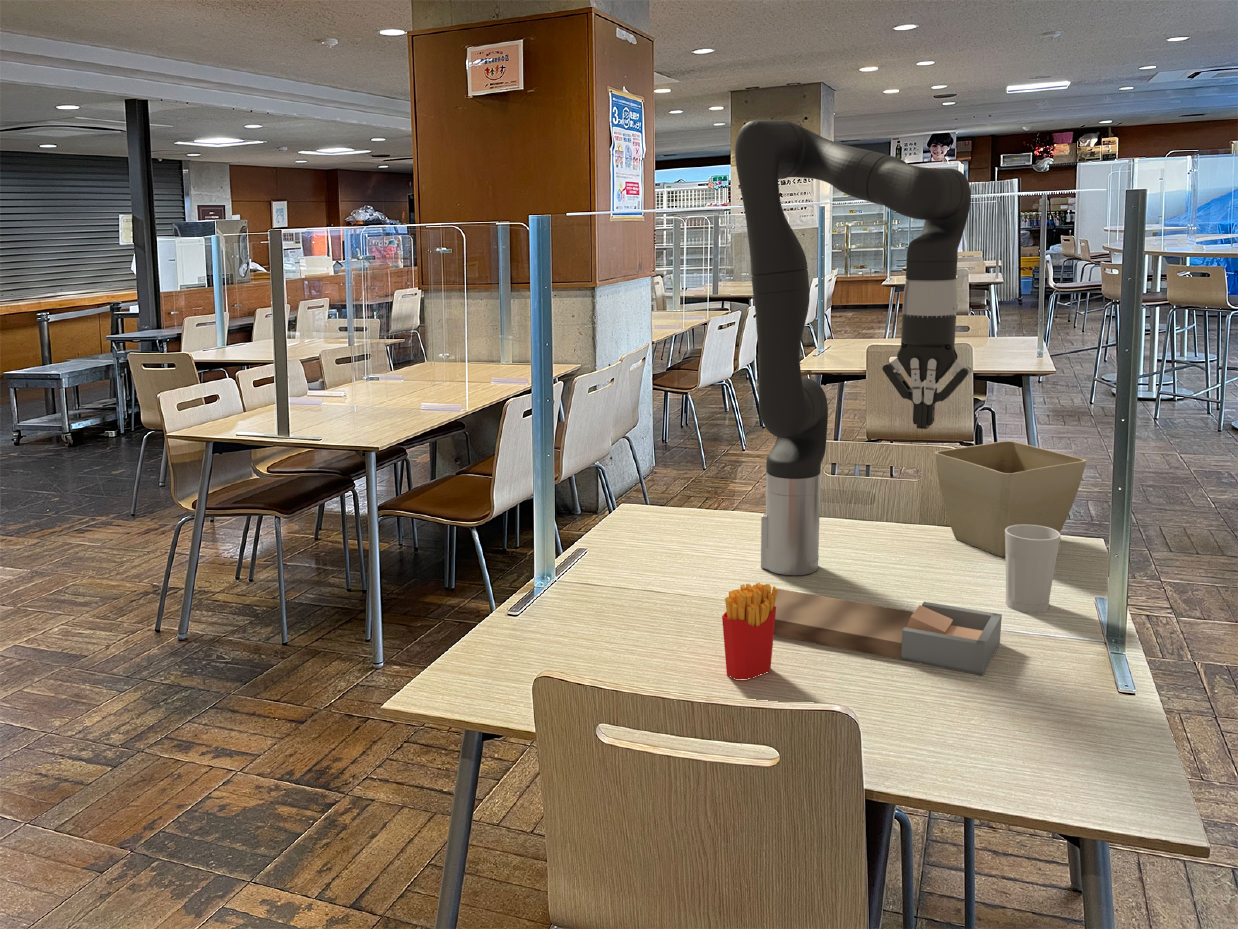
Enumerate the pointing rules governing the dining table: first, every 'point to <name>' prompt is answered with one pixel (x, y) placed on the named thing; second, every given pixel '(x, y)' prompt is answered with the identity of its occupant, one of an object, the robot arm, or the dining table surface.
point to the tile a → (929, 621)
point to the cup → (1030, 566)
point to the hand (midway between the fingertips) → (923, 427)
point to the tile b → (963, 632)
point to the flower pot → (1005, 490)
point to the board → (840, 623)
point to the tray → (954, 641)
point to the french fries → (749, 630)
